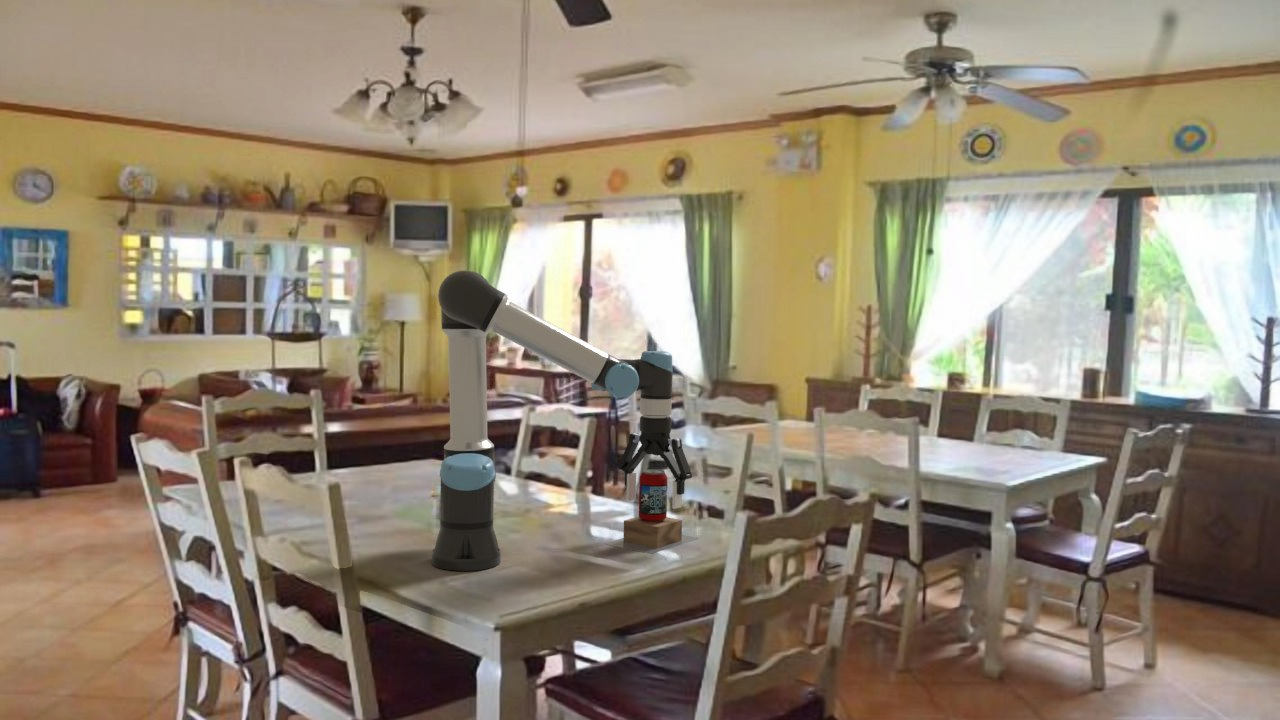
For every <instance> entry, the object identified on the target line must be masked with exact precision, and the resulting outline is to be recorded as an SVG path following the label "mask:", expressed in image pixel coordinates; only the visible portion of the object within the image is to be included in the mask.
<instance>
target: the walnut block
mask: <svg viewBox="0 0 1280 720" xmlns="http://www.w3.org/2000/svg"><path fill="white" fill-rule="evenodd" d="M682 530H683V520H682V519H679V518H671V517H667V516H666V519H664V520H663V521H661V522H645V521H643V520H642V519H640V518H639V516H636V517H632V518H629V519H625V520H623V538H624V541H625V542H630V543H634V544H639V545H644V546H649V547H654V548H660V547H663V546H666V545H669V544H672V543H675V542H679V541H682V535H683V533H682V532H683V531H682Z"/></svg>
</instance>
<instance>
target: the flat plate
mask: <svg viewBox="0 0 1280 720" xmlns="http://www.w3.org/2000/svg"><path fill="white" fill-rule="evenodd" d="M699 539H701V538H700V537H697V536H696V537H695V536H690V535H685V534H682V541H679V542H675V543H672V544H669V545H666V546H663V547H660V548H654V547H649V546H644V545H639V544H634V543H630V542H625V541H624V537H621V538H619V539H615V540H612V541H609V542H605V543H604V544H603V545H606V546H613V547H617V548H622V549H627V550H631V551H636V552H639V553H640V552H641V553H645V554H650V555H653V554H655V553H660V552H662V551H665V550H669V549H671V548H674V547H678V546H681V545H684V544H687V543H689V542H693V541H697V540H699Z"/></svg>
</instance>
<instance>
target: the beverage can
mask: <svg viewBox="0 0 1280 720" xmlns="http://www.w3.org/2000/svg"><path fill="white" fill-rule="evenodd" d="M666 474H667V473H666V470H664V469H661V468H660V469H658V468H646V469H643V470H642V472H641V474H640V476H639V481H638V482H639V485H638V517H639V518H640V519H642V520H643V521H645V522H661V521H663V520H664V519H666V517H667V512H668V477H667V475H666Z"/></svg>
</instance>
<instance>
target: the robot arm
mask: <svg viewBox="0 0 1280 720" xmlns="http://www.w3.org/2000/svg"><path fill="white" fill-rule="evenodd" d="M437 298H438V299H437V300H438V303H439V306H440V310H441V311H440V313H441V315H440V316H441V331H443V333H444V334H445V335H446V336H447V337H448V377H449V379H448V381H449V382H448V383H449V384H448V385H449V432H450V433H449V435H450V437H449V438H450V439H449V440H448V441H447V442H446V443H445V444H444V446H443V457H444V458H443V460H442V462H441V465H440V470H439V477H440V499H439V500H440V501H439V502H440V506H439V507H440V509H439V510H440V514H439V516H440V517H439V530H438V531H439V532H438V534H437V538H436V541H435V545H434V548H433V549H432V552H431V564H432V566H434V567H435V568H438V569H442V570H447V571H454V572H455V571H457V572H458V571H459V572H463V571H464V572H467V571H468V572H470V571H479V570H480V571H481V570H486V569H491V568H494V567H496V566H498V565H500V564H501V557H502V556H501V554H502V552H501V549H500V547H499V544H498V540H497V536H496V533H495V528H494V503H495V502H494V500H495V499H494V498H495V497H494V494H495V482H496V478H497V472H496V468H495V466H496V465H495V444H494V443H493V442H492V441H491V440H490V439H489V438H488V393H487V391H488V390H487V388H488V387H487V385H488V383H487V380H488V379H487V336H488V334H489V333H491V332H494V333H496V334H497V335H499V336H501V337H503V338H505V339H508V340H509V341H511V342H513V344H514V343H515V344H516V345H519V346H520V347H522V348H524V349H526V350H527V351H530V352H532V353H534V354H536V355H538V356H539V357H541V358H544V359H546V360H547V361H549V362H551V363H553V364H554V365H557V366H558V367H561V368H563V369H565V370H566V371H568V372H570V373H572V374H574V375H575V376H578V377H580V378H581V379H584V380H586V381H587V382H589V383H590V387H591V389H592V390H594V391H601V392H608V393H609V394H610V395H611V396H614V397H616V398H623V399H624V398H628V397H631V396H632V395H634V394H635V393H636V392H640V400H639V401H640V402H639V404H640V405H639V413H640V415H641V416H640V417H639V432H640V434H639V432H634V433H630V434H629V436H628V443H627V445H626V447H625V449H624V452H623V454H622V456H621V459H620V461H619V464H618V465H617V469H618V470H621V471H623V472H624V486H625V487H626V501H627V502H628V501H629V502H630V501H634V500H636V498H637V497H636V495H637V472H635V470H636V469H637V467H638V466H639V465H640V463H641V462H642V461H643V460H644V458H645V457H646V456H647V455H654V456H660V458H662V459H663V462H665V464H666V466H667V467H668V469H669V471H670V473H671V474H672V476H673V477H674V480H673V481H672V499H671V501H672V502H671V504H672V505H671V509H674V510H676V509H680V508H682V497H683V495H684V494H685V483H686V480H689V479H692V478H693V474H692V471H691V468H690V466H689V463H688V460H687V457H686V455H685V453H684V450H683V444H682V442H683V441H682V438H681V437H677V438H671V435H670V434H671V431H672V418H671V417H670V416H671V415H672V403H673V402H672V400H673V399H672V398H673V397H672V396H673V372H674V370H673V355H672V354H671V353H670V352H668V351H663V350H645V351H642V352H641V354H640V355H641V356H640V358H637V359H627V358H626V359H622V358H617V357H615V356H612V355H610V354H609V353H607V352H606V351H604V350H601V349H599V348H598V347H596V346H594V345H592V344H590V343H588V342H587V341H585V340H583V339H581V338H580V337H577V336H575V335H574V334H572V333H570V332H568V331H566V330H564V329H562V328H560V327H559V326H556V325H555V324H553V323H551V322H549V321H548V320H546V319H544V318H542V317H540V316H538V315H536V314H534V313H532V312H530V311H528V310H527V309H524V308H523V307H521V306H519V305H517V304H515V303H514V302H512V301H510V300H509V298H508V294H506V293H505V292H502V291H501V290H500V289H497V288H496V287H494V286H493V285H492V284H490V282H489V281H488V280H487V279H486V278H485V276H483V275H481V274H480V273H478V272H476V271H474V270H473V271H471V270H467V269H466V270H457V271H454V272H452V273H449V275H448V276H446V277H445V278H444V279H443V281H442V282H441V284H440V286H439V288H438V295H437ZM639 443H640V444H641V446H640V447H639V448H638V446H639ZM637 448H638V449H637ZM671 448H672V449H671ZM636 449H637V451H636ZM635 452H636V453H635ZM634 453H635V454H634Z"/></svg>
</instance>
